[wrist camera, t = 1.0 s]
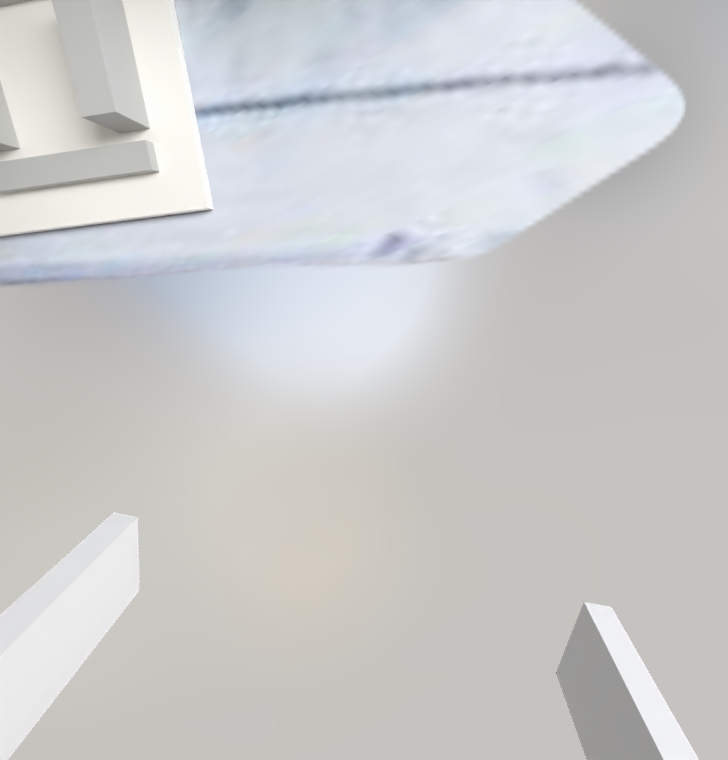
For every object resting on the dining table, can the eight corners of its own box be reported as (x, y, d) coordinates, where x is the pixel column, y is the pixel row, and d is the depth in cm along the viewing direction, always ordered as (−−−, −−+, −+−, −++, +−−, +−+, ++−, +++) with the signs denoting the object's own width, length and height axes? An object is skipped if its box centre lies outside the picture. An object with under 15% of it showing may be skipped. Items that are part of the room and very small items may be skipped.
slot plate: (-102, -50, 31) (-194, -105, 26) (153, -106, 29) (104, -178, 24) (-8, 237, 37) (-69, 235, 32) (213, 209, 34) (182, 202, 30)
